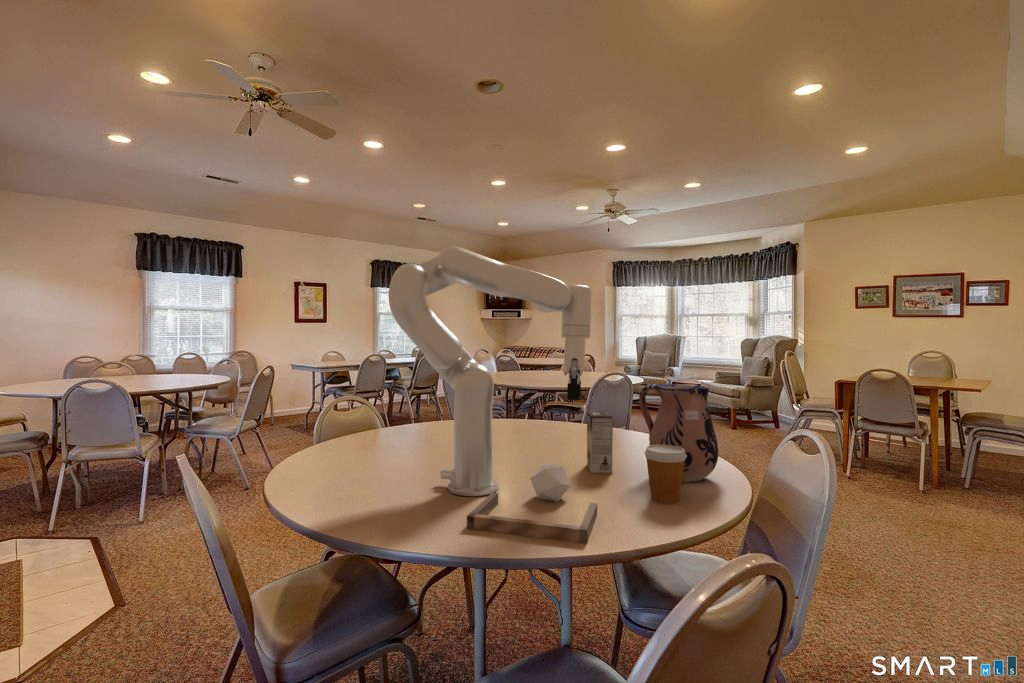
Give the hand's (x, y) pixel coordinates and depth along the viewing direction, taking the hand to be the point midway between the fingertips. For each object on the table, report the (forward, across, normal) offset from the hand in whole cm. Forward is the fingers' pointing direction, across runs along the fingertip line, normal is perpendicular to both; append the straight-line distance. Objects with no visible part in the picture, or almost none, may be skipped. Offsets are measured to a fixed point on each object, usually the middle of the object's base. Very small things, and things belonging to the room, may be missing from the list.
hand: (574, 397), depth 128 cm
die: (+23, +14, -5) cm, 27 cm away
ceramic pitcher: (+22, -9, +28) cm, 36 cm away
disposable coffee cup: (+22, +10, +22) cm, 33 cm away
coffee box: (+22, -14, +8) cm, 27 cm away
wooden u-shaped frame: (+23, +29, -7) cm, 37 cm away
